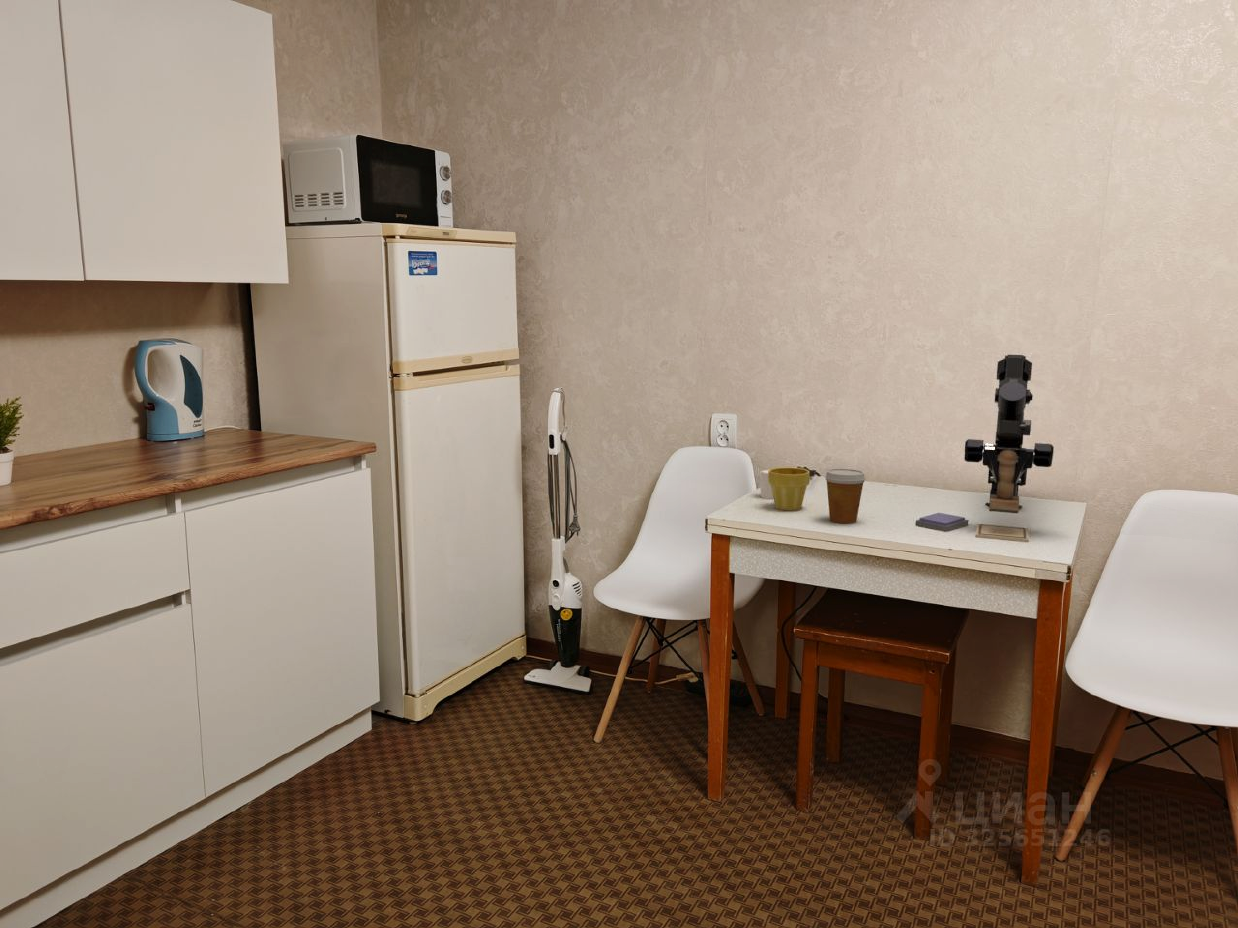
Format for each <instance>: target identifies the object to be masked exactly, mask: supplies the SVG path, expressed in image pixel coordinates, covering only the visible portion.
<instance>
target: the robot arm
mask: <svg viewBox="0 0 1238 928" xmlns="http://www.w3.org/2000/svg"><path fill="white" fill-rule="evenodd" d="M1026 358H1027V356H1026V355H1023V354H1007V355H1004V358H1002V359H1001V360H999V361H997V368H996V381H997V380H998V387H997V388H995V390H994V391H995V392H994V403H995V404H997V408H998V409H997V410H998V411H997V421H996V432H995V444H993V443H992V444H991V443H984V441H985V440H984V439H973V438H971V439H967V440H965V442H964V443H965V445H964V461H965V462H967V463H979V464H980V463H981V461H982V465H983V466H986V467H987V468H988V476H987V477H988V478H987V479H988V480H987V484H991V489H990V493H989V499H990V498H991V494H994V495H997V487H998V474H999V463H1000V462H999V460H998V457H999V454H1000V453H1001V452H1002V451H1003V450H1006V449H1010V450H1013V451H1014V452H1015V453H1016V454H1017V458H1018V459H1017V462H1016V465H1015V477H1014V490H1013V496H1019V486H1020V487H1024V486H1026V485H1027V474H1028V469H1032V468H1033V465H1034V466H1035V467H1038V468H1040V467H1041V468H1051V467H1052V466H1053V464H1052V463H1053V458H1054V450H1055V449H1054V448H1055V447H1054V445H1052V444H1051V443H1040V442H1034V447H1033V449H1032V448H1027V447H1023V445H1024V444H1023V443H1024V436H1031V431H1032V419H1024V418H1025V409H1026V405H1029V404H1030V403H1031V401H1033V393H1032V391H1031V389H1029V388H1028V384H1029V383H1028V382H1030V381H1032V373H1033V372H1032V369H1033V362H1031V361H1030V360H1029V359H1026ZM984 505H985V506H988V507H990V502H985V504H984ZM1022 507H1023V505H1020V504H1019V509H1022Z"/></svg>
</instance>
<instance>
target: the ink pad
mask: <svg viewBox="0 0 1238 928" xmlns="http://www.w3.org/2000/svg"><path fill="white" fill-rule="evenodd" d="M969 522H970V521H969V519H966V517H964V516H960V515H959V516H958V515H954V514H947V513H943V512H936V513H933V514H930V515H926V516H923V517H922V516H921V517H919V519H916V520H915V526H917V527H922V528H926V529H932V530H935V531H942V532H945V531H946V532H951V531H954V530H956V529H961V528H963V527H966V526H969Z"/></svg>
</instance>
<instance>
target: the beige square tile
mask: <svg viewBox="0 0 1238 928" xmlns="http://www.w3.org/2000/svg"><path fill="white" fill-rule="evenodd" d="M975 538H981V539H982V538H983V539H994V540H1002V541H1003V540H1004V541H1015V542H1025V543H1029V540H1030V539H1029V538H1030V537H1029V529H1028V527H1027V528H1026V527H1019V526H1018V527H1017V526H1005V525H996V524H995V525H993V524H983V523H977V524H976V531H975Z"/></svg>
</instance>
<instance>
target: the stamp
mask: <svg viewBox="0 0 1238 928" xmlns="http://www.w3.org/2000/svg"><path fill="white" fill-rule="evenodd" d="M1017 459H1018V458H1017V454H1016V453H1015V452H1014V451H1013V450H1010V449H1006V450H1003V451H1002V452H1001V453H1000V454H999V457H998V460H999V462H1000V463H999V474H998V487H997V495H994V494H991V498H990V497H989V503H990V506H989V512H994V513H995V512H996V513H1006V514H1008V513H1009V514H1019V509H1020V508H1019V505H1020V496H1019V495H1018V496H1013V490H1014V477H1015V465H1016V462H1017Z"/></svg>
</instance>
